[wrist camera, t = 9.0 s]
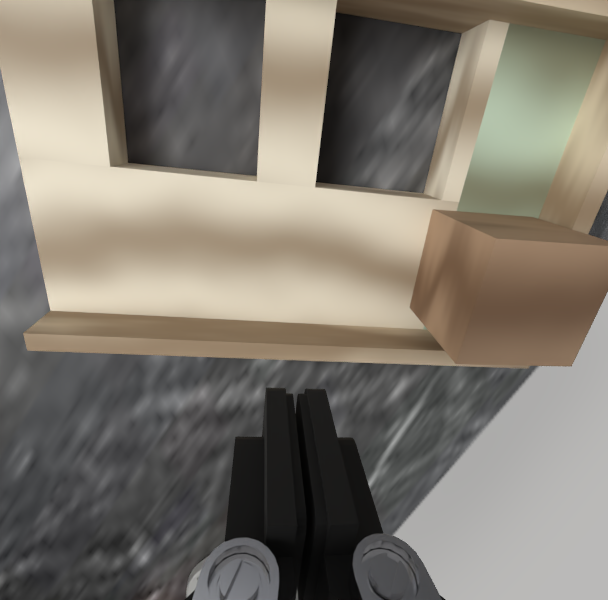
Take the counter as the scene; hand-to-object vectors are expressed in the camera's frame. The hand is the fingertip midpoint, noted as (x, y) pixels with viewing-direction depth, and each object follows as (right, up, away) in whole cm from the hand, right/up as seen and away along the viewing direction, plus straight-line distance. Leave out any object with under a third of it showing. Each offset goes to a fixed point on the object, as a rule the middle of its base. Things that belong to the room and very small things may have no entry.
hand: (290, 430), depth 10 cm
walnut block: (+10, +6, +11) cm, 16 cm away
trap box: (+1, +11, +11) cm, 15 cm away
